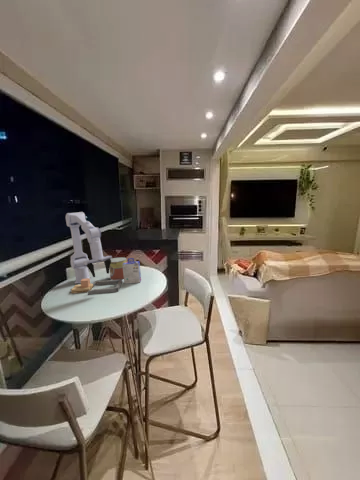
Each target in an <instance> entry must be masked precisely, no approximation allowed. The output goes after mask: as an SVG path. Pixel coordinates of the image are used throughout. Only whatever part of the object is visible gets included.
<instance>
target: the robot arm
mask: <svg viewBox="0 0 360 480" xmlns="http://www.w3.org/2000/svg"><path fill="white" fill-rule="evenodd" d="M65 222H66V226H67V227H69V229H70V234H71V240H72V246H73V252H74V253H72V255H70V266H71V268H72V269H74V275H75V281H74V283H73V284H75V285H78V284H81V280H82V279H86V278H90V279H91V278H92V277H93V278H96V273H95V267H94V264H95V263H100V262H103V263H104V266H105V271H106V274H108V275H110V269H109V268H110V264H111V260H110V259H113V256H112V255H107V256H104V253H103V247H102V242H101V237H102V232H101V229H100V228H99V227H95V226H94V225H93V223H91V222H90V221H88V220H87V219H86V214H85V212H83V211H79V212H67V213H66V214H65ZM80 227H81V230H82V231H83V232H84V233H85V237H86V239H87V242H88V243H89V247H90V253H91V258H92V259H89V258H88V254H87V253H85V252H83V245H82V241H81V240H82V239H81V233H80ZM90 273H91V275H92V276H91V277H90Z"/></svg>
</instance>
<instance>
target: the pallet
mask: <svg viewBox="0 0 360 480" xmlns="http://www.w3.org/2000/svg"><path fill="white" fill-rule="evenodd" d="M93 289H94V282H93V283H90V286H89V287H85V288H81V283H79V284H75V285H74V286H73V288H71V289H70V291H71V292H70V293H71V294H78V293H79V294H81V293H88V291H89V290H93Z"/></svg>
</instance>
